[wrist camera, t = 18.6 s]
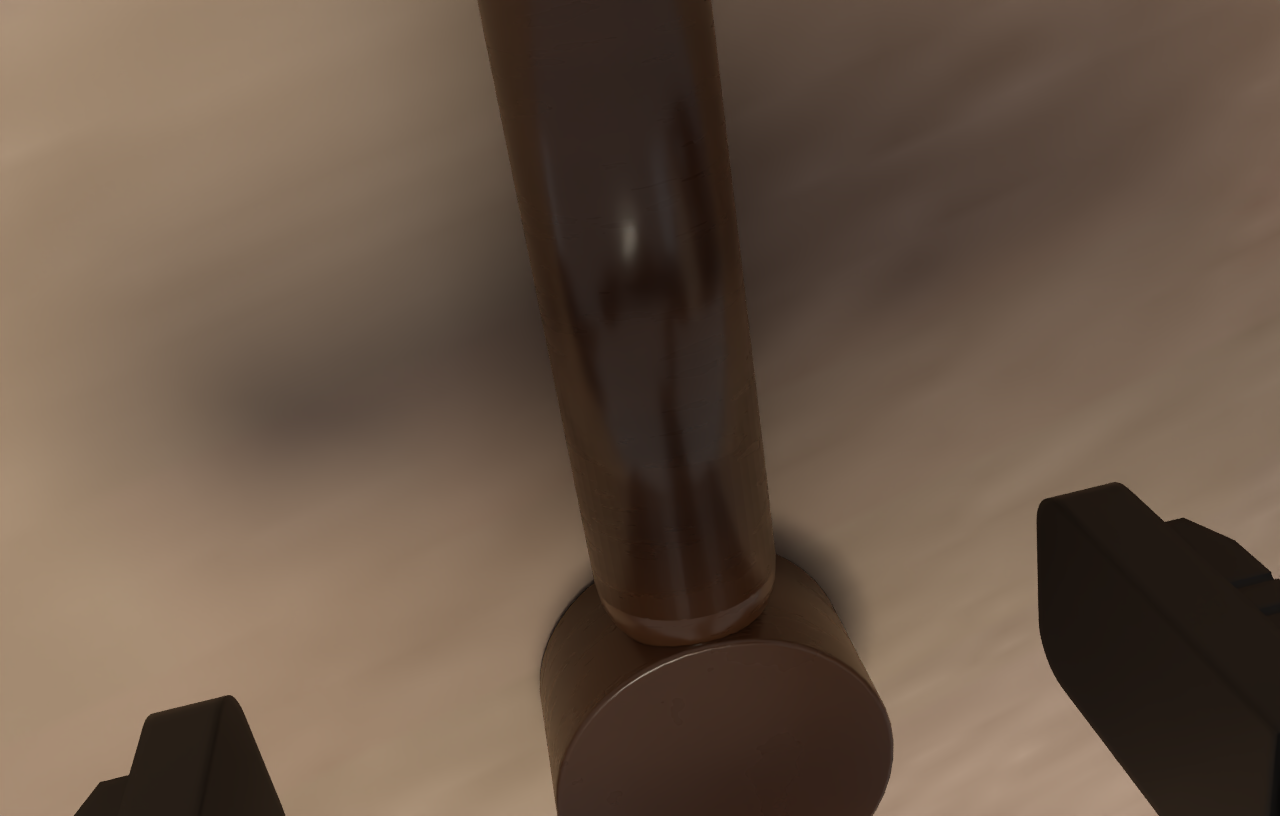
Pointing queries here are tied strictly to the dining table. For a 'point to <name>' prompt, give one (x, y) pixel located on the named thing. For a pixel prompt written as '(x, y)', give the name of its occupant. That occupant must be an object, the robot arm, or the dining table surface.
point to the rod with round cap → (666, 440)
